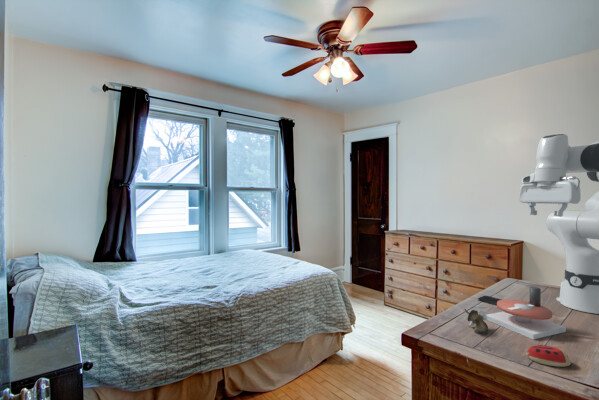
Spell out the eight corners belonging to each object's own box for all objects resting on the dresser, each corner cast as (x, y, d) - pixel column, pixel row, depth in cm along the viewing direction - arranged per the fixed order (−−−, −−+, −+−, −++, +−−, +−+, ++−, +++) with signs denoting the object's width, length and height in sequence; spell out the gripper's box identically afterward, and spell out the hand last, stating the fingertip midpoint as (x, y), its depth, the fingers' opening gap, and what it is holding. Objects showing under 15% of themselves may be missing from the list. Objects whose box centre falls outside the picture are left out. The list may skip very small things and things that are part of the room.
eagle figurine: (457, 317, 102) (461, 322, 94) (469, 301, 102) (474, 305, 93) (478, 333, 99) (484, 340, 91) (491, 316, 99) (498, 322, 90)
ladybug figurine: (578, 370, 73) (578, 356, 73) (535, 366, 74) (535, 353, 74) (558, 356, 80) (558, 343, 80) (519, 353, 81) (519, 340, 81)
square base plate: (515, 313, 109) (515, 301, 109) (565, 331, 94) (566, 318, 94) (484, 319, 104) (484, 306, 104) (533, 339, 89) (533, 324, 89)
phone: (485, 295, 128) (526, 305, 115) (485, 297, 128) (526, 308, 115) (476, 298, 123) (518, 309, 111) (476, 301, 123) (518, 312, 111)
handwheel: (532, 323, 89) (532, 299, 89) (486, 306, 103) (487, 285, 103) (563, 316, 94) (563, 294, 94) (515, 301, 108) (515, 281, 108)
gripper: (588, 177, 95) (583, 218, 95) (531, 181, 115) (527, 215, 115) (571, 174, 94) (567, 216, 94) (517, 179, 115) (513, 213, 115)
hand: (545, 215), depth 105 cm, fingers open, 8 cm apart
